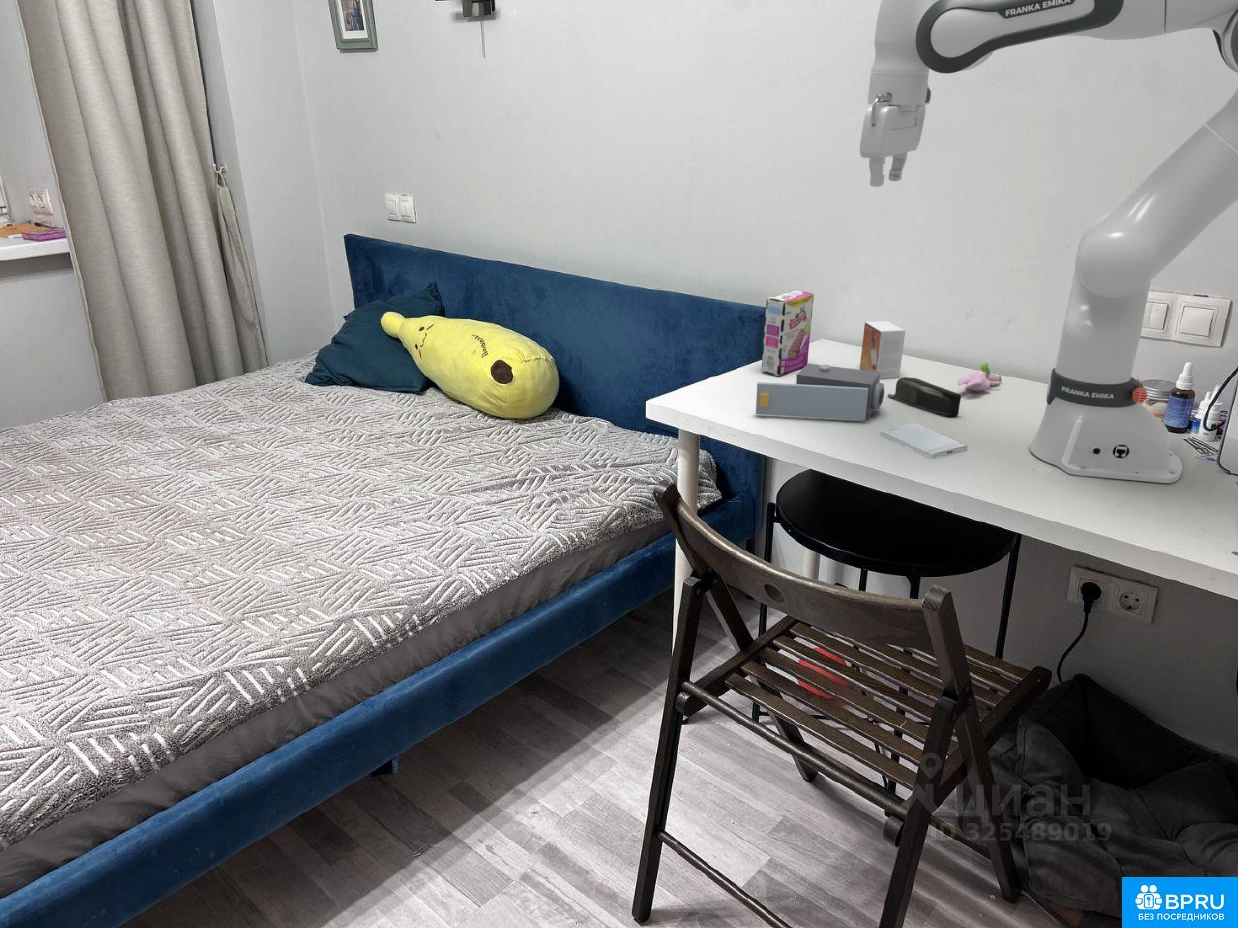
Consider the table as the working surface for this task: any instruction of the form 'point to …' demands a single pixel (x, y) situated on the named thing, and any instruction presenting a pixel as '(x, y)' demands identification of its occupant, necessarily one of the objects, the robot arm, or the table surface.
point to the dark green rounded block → (927, 396)
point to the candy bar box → (787, 332)
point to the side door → (811, 401)
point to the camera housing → (845, 381)
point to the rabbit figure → (980, 379)
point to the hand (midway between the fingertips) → (885, 183)
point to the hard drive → (923, 440)
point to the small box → (882, 348)
